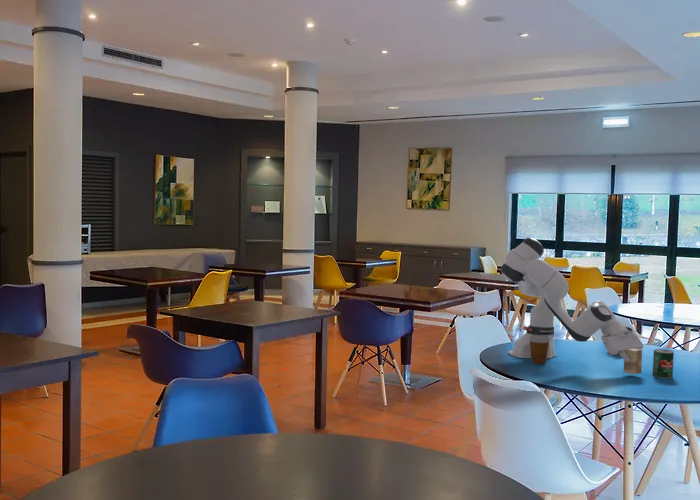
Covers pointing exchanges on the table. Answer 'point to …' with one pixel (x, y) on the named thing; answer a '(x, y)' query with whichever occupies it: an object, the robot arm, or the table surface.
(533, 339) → the disposable coffee cup
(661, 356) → the canned tomato
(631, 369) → the oak block
